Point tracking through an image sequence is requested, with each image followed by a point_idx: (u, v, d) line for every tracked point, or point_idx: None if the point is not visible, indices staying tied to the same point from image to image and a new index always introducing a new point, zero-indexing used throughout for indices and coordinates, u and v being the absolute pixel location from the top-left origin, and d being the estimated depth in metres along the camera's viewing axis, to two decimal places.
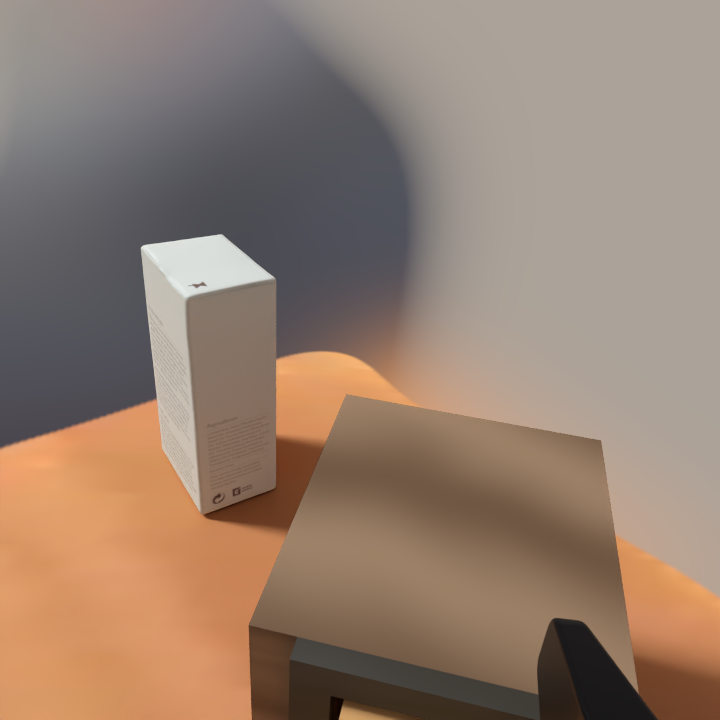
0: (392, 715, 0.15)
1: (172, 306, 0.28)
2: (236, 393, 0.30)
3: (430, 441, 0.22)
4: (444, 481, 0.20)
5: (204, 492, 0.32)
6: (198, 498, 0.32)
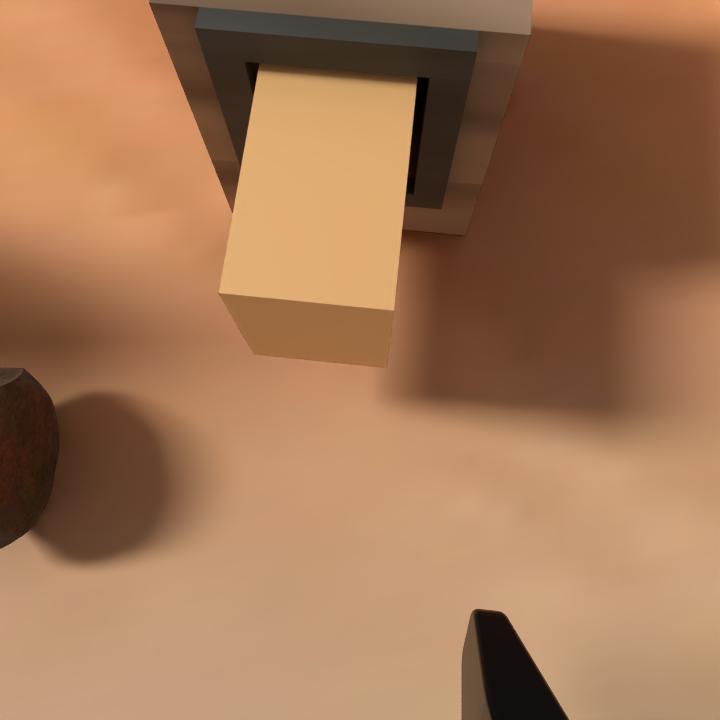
0: (305, 72, 0.17)
1: None
2: None
3: None
4: None
5: None
6: None
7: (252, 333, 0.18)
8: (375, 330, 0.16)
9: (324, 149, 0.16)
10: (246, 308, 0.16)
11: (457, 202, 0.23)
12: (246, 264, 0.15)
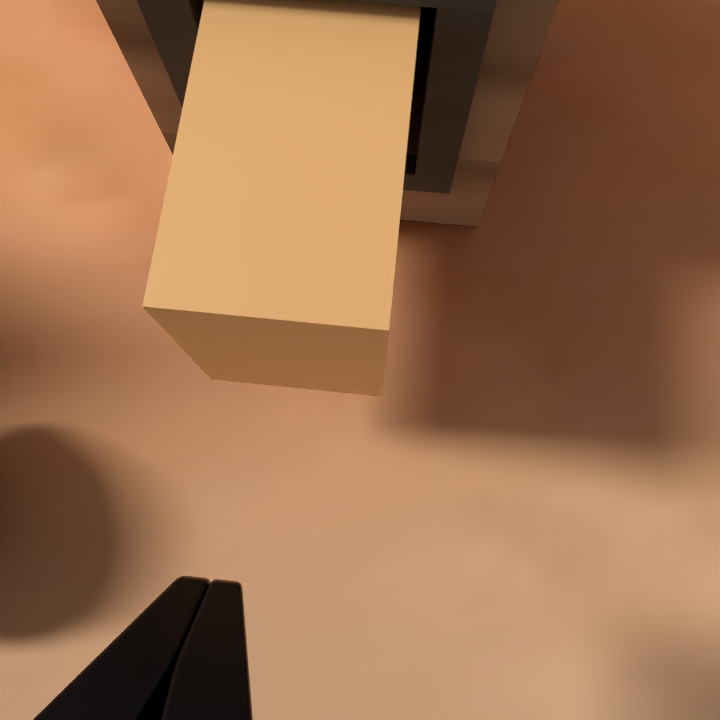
0: (268, 3, 0.12)
1: None
2: None
3: None
4: None
5: None
6: None
7: (202, 356, 0.13)
8: (364, 354, 0.12)
9: (292, 106, 0.12)
10: (186, 326, 0.12)
11: (468, 185, 0.19)
12: (182, 266, 0.11)
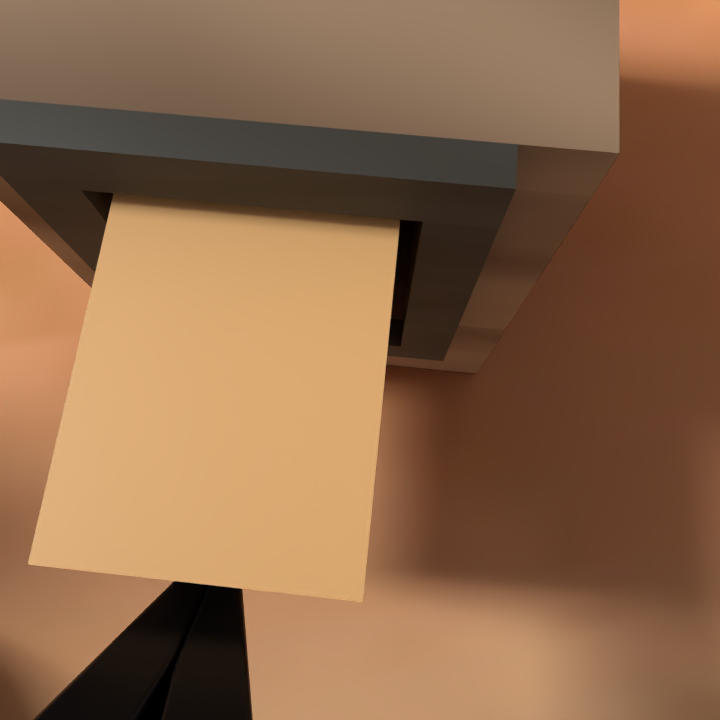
0: None
1: None
2: None
3: None
4: None
5: None
6: None
7: None
8: None
9: (240, 273, 0.09)
10: None
11: (466, 345, 0.15)
12: (84, 504, 0.08)
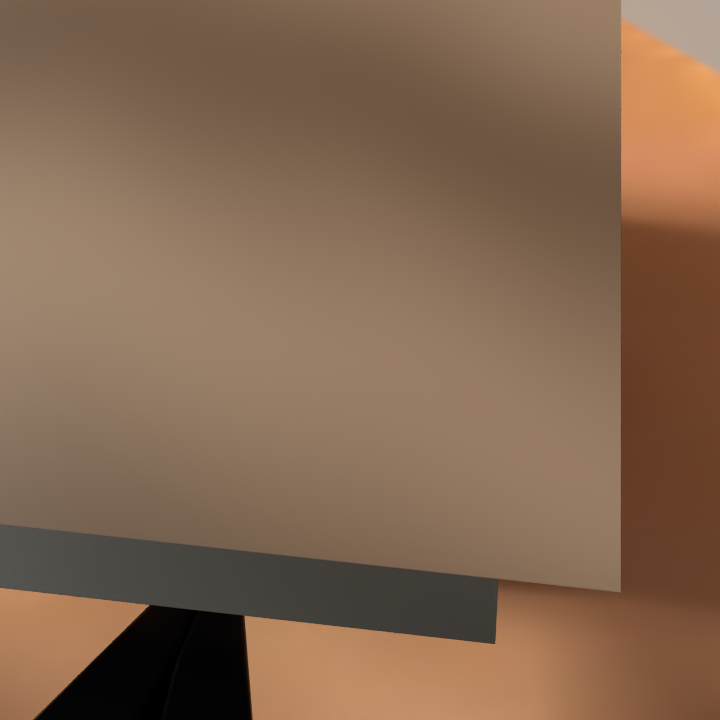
0: None
1: None
2: None
3: None
4: (220, 17, 0.08)
5: None
6: None
7: None
8: None
9: None
10: None
11: None
12: None
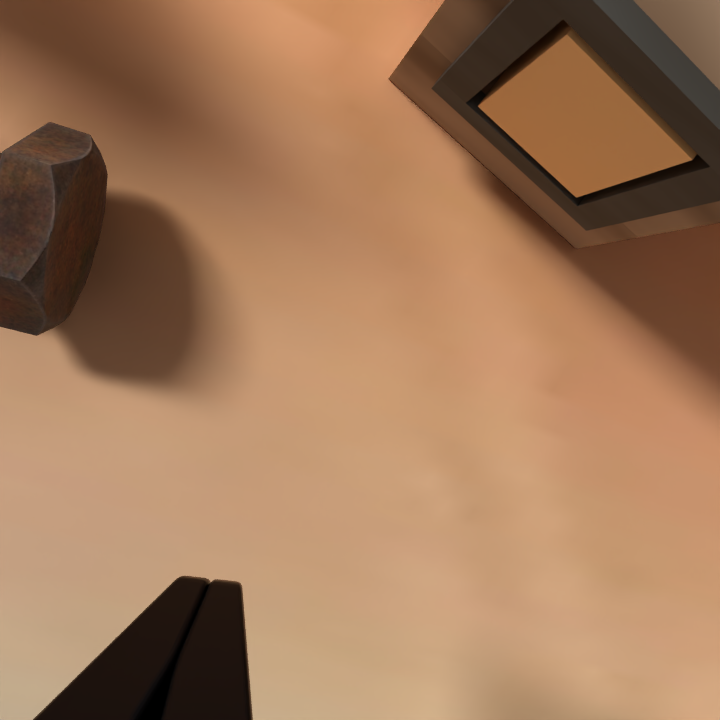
0: None
1: None
2: None
3: None
4: None
5: None
6: None
7: (517, 88, 0.17)
8: (637, 163, 0.16)
9: None
10: (562, 65, 0.15)
11: (600, 229, 0.22)
12: None
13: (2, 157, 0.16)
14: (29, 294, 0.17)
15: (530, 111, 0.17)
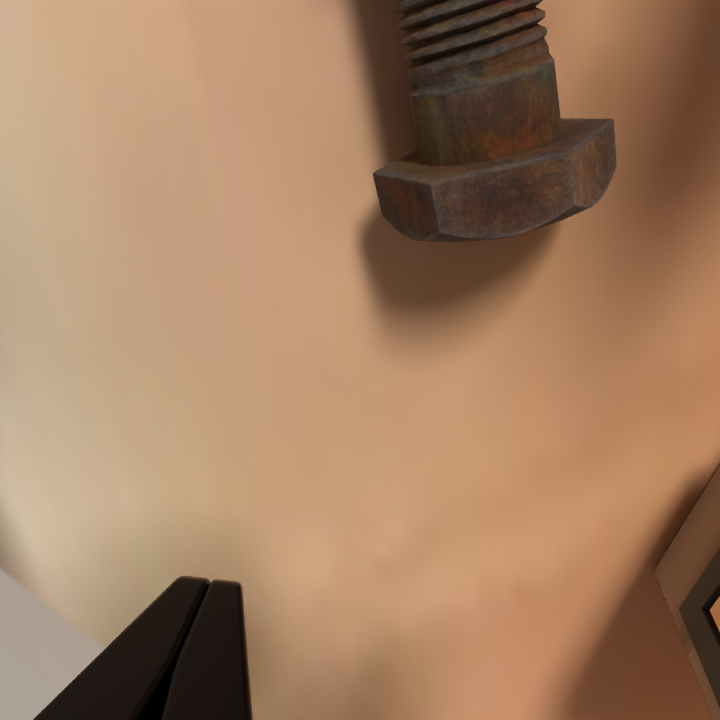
0: None
1: None
2: None
3: None
4: None
5: None
6: None
7: None
8: None
9: None
10: None
11: None
12: None
13: (562, 156, 0.14)
14: (428, 235, 0.15)
15: None
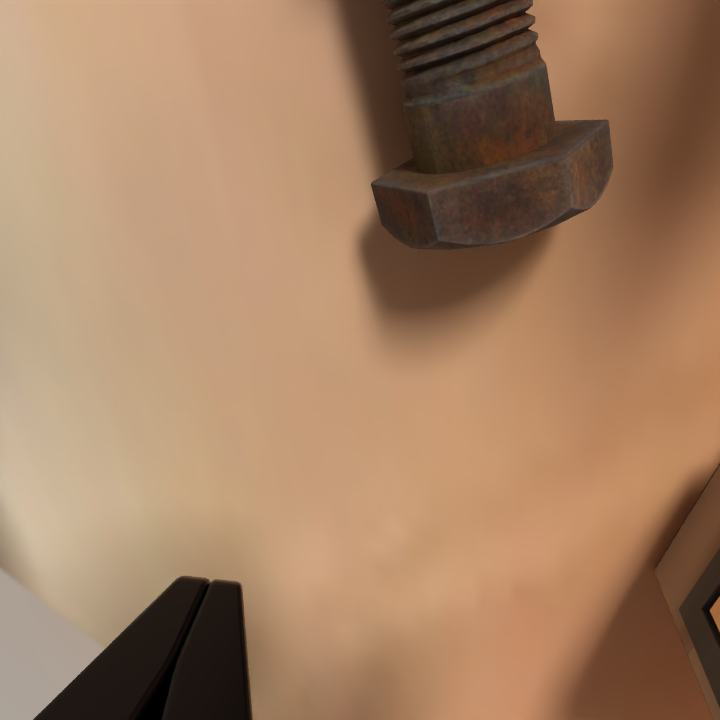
0: None
1: None
2: None
3: None
4: None
5: None
6: None
7: None
8: None
9: None
10: None
11: None
12: None
13: (557, 160, 0.14)
14: (426, 243, 0.15)
15: None
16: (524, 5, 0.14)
